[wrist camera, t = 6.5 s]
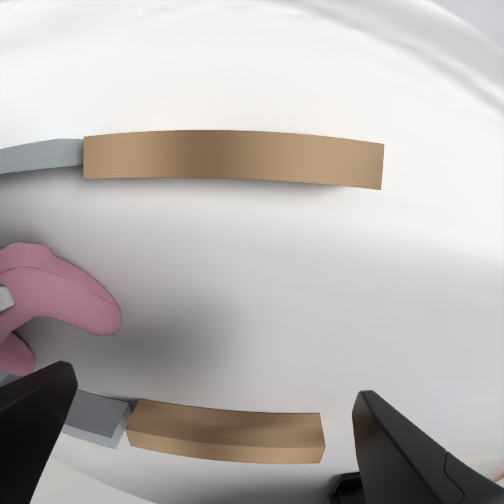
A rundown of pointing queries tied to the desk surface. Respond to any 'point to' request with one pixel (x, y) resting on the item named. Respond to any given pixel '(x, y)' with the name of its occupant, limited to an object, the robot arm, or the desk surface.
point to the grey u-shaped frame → (84, 404)
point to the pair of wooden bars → (234, 167)
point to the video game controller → (47, 300)
